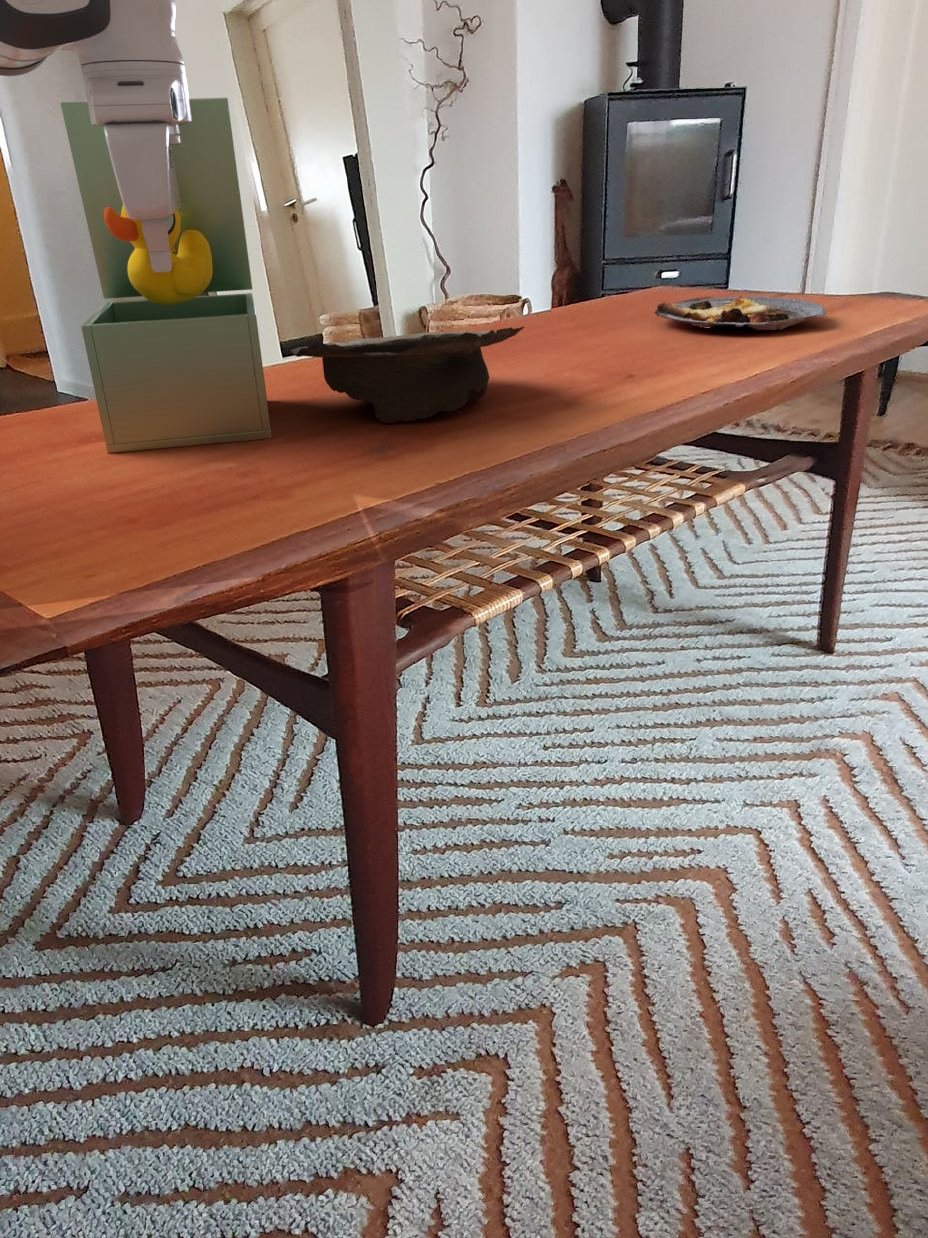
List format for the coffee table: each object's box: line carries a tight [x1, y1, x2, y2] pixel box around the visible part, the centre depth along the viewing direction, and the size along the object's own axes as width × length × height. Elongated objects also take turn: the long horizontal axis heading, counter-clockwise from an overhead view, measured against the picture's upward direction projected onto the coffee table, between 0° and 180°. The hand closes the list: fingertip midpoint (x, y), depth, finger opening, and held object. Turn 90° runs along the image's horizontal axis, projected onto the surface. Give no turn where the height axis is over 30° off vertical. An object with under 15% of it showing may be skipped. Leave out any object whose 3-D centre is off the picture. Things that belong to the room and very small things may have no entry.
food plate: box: [654, 295, 827, 331], centre depth 143 cm, size 25×23×4 cm
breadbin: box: [80, 292, 273, 454], centre depth 96 cm, size 18×16×12 cm
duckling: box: [104, 205, 213, 306], centre depth 89 cm, size 11×5×10 cm, turn 149°
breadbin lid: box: [60, 97, 253, 300], centre depth 97 cm, size 18×16×5 cm
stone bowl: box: [290, 326, 525, 424], centre depth 102 cm, size 25×25×9 cm
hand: (166, 267), depth 90 cm, fingers closed on duckling, 7 cm apart
